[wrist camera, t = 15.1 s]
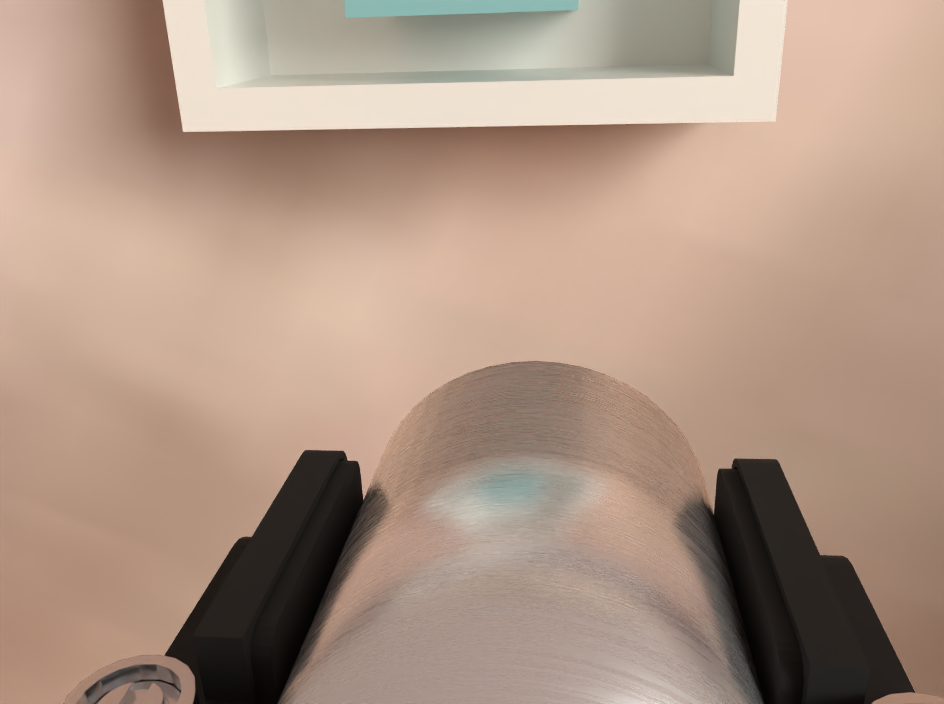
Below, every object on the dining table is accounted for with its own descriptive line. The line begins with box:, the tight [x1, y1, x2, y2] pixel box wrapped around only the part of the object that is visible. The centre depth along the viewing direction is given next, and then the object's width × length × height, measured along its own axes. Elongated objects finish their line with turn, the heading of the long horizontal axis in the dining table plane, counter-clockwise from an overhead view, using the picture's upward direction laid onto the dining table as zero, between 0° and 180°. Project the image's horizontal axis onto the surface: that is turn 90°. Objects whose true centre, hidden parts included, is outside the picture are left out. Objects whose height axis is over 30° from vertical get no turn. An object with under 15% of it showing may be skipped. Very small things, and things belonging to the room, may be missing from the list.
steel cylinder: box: [278, 361, 765, 704], centre depth 10 cm, size 5×5×7 cm
